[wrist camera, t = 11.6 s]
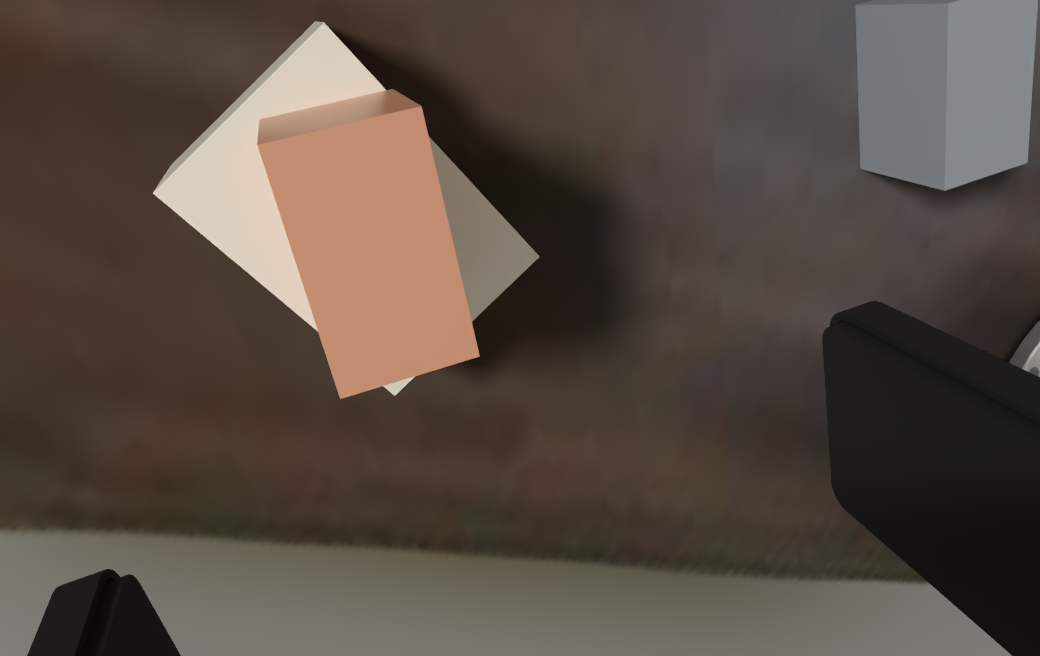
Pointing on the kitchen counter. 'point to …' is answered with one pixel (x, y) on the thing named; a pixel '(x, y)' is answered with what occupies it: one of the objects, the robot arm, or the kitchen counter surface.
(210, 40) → the kitchen counter surface
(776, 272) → the kitchen counter surface
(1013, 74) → the slate brick
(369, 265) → the terracotta brick
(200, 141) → the cream brick
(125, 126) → the kitchen counter surface
